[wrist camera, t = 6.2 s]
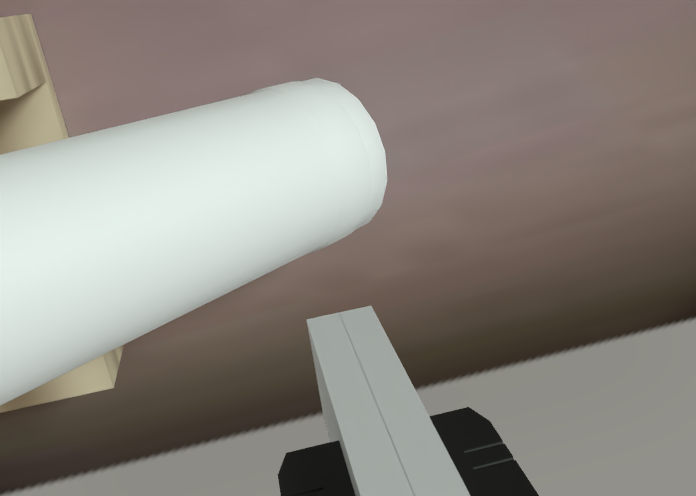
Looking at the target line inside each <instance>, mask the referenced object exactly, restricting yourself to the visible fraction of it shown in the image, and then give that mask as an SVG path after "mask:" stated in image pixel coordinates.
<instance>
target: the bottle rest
mask: <svg viewBox="0 0 696 496" xmlns="http://www.w3.org/2000/svg"><path fill="white" fill-rule="evenodd" d="M67 138H69V136H68V133H67V129H66V126H65V123H64V120H63V116H62V113H61V110H60V107H59V103H58V100H57V97H56V94H55V90H54V87H53V84H52V81H51V77H50V74H49V71H48V68H47V64H46V61H45V58H44V55H43V51H42V48H41V45H40V42H39V38H38V35H37V32H36V29H35V25H34V22H33V19H32V16H31V14H25V15H17V16H9V17H1V18H0V155H1V154H5V153H9V152H14V151H18V150H22V149H26V148H30V147H34V146H38V145H42V144H46V143H51V142H55V141H59V140H63V139H67ZM123 347H124V345H122V346H120V347H118V348H116V349H114V350H112V351H110V352H108V353H106V354H104V355H102V356H100V357H97V358H95V359H93V360H91V361H89V362H87V363H85V364H83V365H81V366H79V367H77V368H75V369H73V370H71V371H69V372H67V373H65V374H63V375H61V376H59V377H57V378H55V379H53V380H51V381H49V382H47V383H45V384H43V385H41V386H39V387H37V388H35V389H33V390H31V391H29V392H27V393H25V394H23V395H21V396H19V397H17V398H15V399H13V400H11V401H9V402H7V403H5V404H3V405H1V406H0V413H2V412H6V411H11V410H15V409H20V408H24V407H29V406H33V405H38V404H43V403H47V402H52V401H56V400H61V399H65V398H70V397H74V396H79V395H83V394H88V393H92V392H97V391H101V390H106V389H110V388H114V384H115V380H116V376H117V371H118V367H119V363H120V359H121V355H122V351H123Z"/></svg>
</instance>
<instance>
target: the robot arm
mask: <svg viewBox="0 0 696 496" xmlns="http://www.w3.org/2000/svg"><path fill="white" fill-rule="evenodd" d="M307 325H308V331H309V336H310V342H311V348H312V353H313V359H314V365H315V370H316V376H317V382H318V387H319V393H320V399H321V404H322V410H323V416H324V420H325V424H326V427H327V431H328V434H329V438H330V443H326V444H322V445H317V446H314V447H309V448H305V449H301V450H297V451H293V452H289V453H286V455H285V458H284V461H283V463H282V466H281V469H280V471H279V474H278V479H279V485H280V492H281V496H539V495H538V494H537V492H536V491H535V489H534V488H533V486H532V485H531V483H530V482H529V480H528V478H527V477H526V475H525V474H524V472H523V471H522V469H521V468H520V466H519V465H518V463H517V462H516V461H514V459H513V456H512V454H511V453H510V451H509V450H508V448H507V447H506V445H505V444H503V441H502V439H501V438H500V436H499V434H498V433H497V431H496V430H495V428H494V427H493V426H492V424H491V422H490V421H489V420H487V419H486V418H484V417H483V416H481V415H480V414H478V413H477V412H475V411H474V410H472V409H471V408H469V407H467V408H463V409H459V410H454V411H451V412H446V413H442V414H438V415H434V416H430V417H429V415H428V414H427V412H426V410H425V408H424V406H423V404H422V402H421V400H420V398H419V397H418V394H417V392H416V390H415V389H414V387H413V385H412V383H411V381H410V379H409V377H408V375H407V373H406V371H405V369H404V368H403V366H402V364H401V362H400V360H399V358H398V356H397V354H396V352H395V350H394V348H393V347H392V345H391V343H390V341H389V339H388V337H387V335H386V333H385V331H384V329H383V327H382V326H381V324H380V322H379V320H378V318H377V316H376V314H375V312H374V310H373V308H372V306H368V307H363V308H358V309H354V310H349V311H344V312H340V313H335V314H330V315H326V316H321V317H316V318H312V319H307Z"/></svg>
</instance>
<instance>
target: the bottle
mask: <svg viewBox="0 0 696 496" xmlns="http://www.w3.org/2000/svg"><path fill="white" fill-rule="evenodd" d="M386 184H387V170H386V157H385V150H384V147H383V144H382V142H381V139H380V136H379V133H378V130H377V127H376V125H375V123H374V121H373V120H372V118H371V117H370V115H369V114H368V112H367V111H366V110H365V108H364V107H363V105H362V104H361V102H360V101H359V99H357V98H356V97H355V96H353V95H352V94H351V93H350V92H348V91H347V90H346V89H344V88H343V87H342V86H341V85H339V84H338V83H334V82H330V81H327V80H323V79H320V78H315V79H310V80H306V81H301V82H299V81H294V82H288V83H284V84H279V85H275V86H271V87H266V88H262V89H259V90H256V91H252V92H251V93H250V94H248V95H244V96H240V97H235V98H231V99H227V100H223V101H219V102H215V103H211V104H207V105H203V106H198V107H194V108H190V109H186V110H182V111H178V112H174V113H170V114H166V115H161V116H157V117H153V118H149V119H145V120H141V121H137V122H133V123H129V124H125V125H120V126H116V127H112V128H108V129H104V130H100V131H96V132H92V133H88V134H83V135H79V136H75V137H71V138H67V139H63V140H59V141H55V142H51V143H46V144H42V145H38V146H34V147H30V148H26V149H22V150H18V151H14V152H9V153H5V154H1V155H0V406H1V405H3V404H5V403H7V402H9V401H11V400H13V399H15V398H17V397H19V396H21V395H23V394H25V393H27V392H29V391H31V390H33V389H35V388H37V387H39V386H41V385H43V384H45V383H47V382H49V381H51V380H53V379H55V378H57V377H59V376H61V375H63V374H65V373H67V372H69V371H71V370H73V369H75V368H77V367H79V366H81V365H83V364H85V363H87V362H89V361H91V360H93V359H95V358H97V357H100V356H102V355H104V354H106V353H108V352H110V351H112V350H114V349H116V348H118V347H120V346H122V345H124V344H126V343H128V342H130V341H132V340H134V339H136V338H138V337H140V336H142V335H144V334H146V333H148V332H150V331H152V330H154V329H156V328H158V327H160V326H162V325H164V324H166V323H168V322H170V321H172V320H174V319H176V318H178V317H180V316H182V315H184V314H186V313H188V312H190V311H192V310H194V309H196V308H198V307H200V306H202V305H204V304H206V303H208V302H210V301H212V300H215V299H217V298H219V297H221V296H223V295H225V294H227V293H229V292H231V291H233V290H235V289H237V288H239V287H241V286H243V285H245V284H247V283H249V282H251V281H253V280H255V279H257V278H259V277H261V276H263V275H265V274H267V273H269V272H271V271H273V270H275V269H277V268H279V267H281V266H283V265H285V264H287V263H289V262H291V261H293V260H295V259H297V258H299V257H301V256H303V255H305V254H307V253H313V252H316V251H318V250H320V249H322V248H324V247H326V246H328V245H330V244H332V243H334V242H336V241H338V240H340V239H342V238H344V237H346V236H347V235H349V234H351V233H352V232H353V231H354V230H356V229H358V228H359V227H361V226H363V225H365V224H367V223H369V222H370V221H371V219H372V218H373V216H374V215H375V214H376V212H377V211H378V209H379V208H380V207H381V205H382V201H383V197H384V192H385V188H386Z"/></svg>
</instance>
